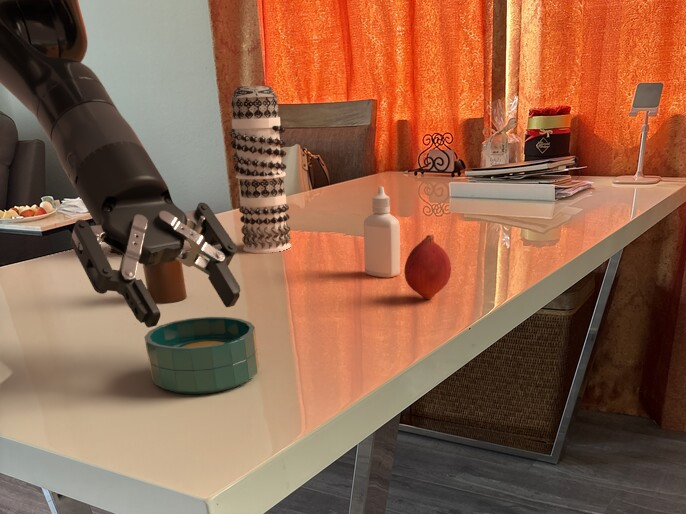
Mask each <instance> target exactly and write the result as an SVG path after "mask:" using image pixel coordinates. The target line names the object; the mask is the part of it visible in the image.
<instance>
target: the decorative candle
mask: <svg viewBox="0 0 686 514" xmlns="http://www.w3.org/2000/svg"><path fill="white" fill-rule="evenodd" d="M230 103H231V113H232V114H231V115H232V118H231V129H230V130H229V132H228V135H229V136H230V137H231V139H233V140H231V141H230V142H229V143H230V146H231V148H233V149H234V150H235V152H234V153H233V155H232V159H233V161H234V162H235V164H234V165H233V170H234V171H235V172H237V173H236V175H235V178H236V179H238V182H239V191H240V196H239V203H240V206H239V208H238V210H239V213H241V214H242V216H240V218H239V221H240V222H241V223H243V225H242V227H241V228H240V231H241V233H242V235H243V236H242V239H241V240H242V243H243V244H244V246H243V251H244V252H246V253H252V254H271V253H272V252H273V253H280V252H279V251H281V252H284V251H283V250H285V251H287V250H286V249H288V248H290V247H291V248H292V244H291V243H290V242H291V240H292V236H291V234H290V233H289V232H290V231H291V229H292V228H291V226H290V224H289V223H288V222H287V221H288V220H290V217H291V216H290V215H289V214H288V213H286V212H287V211H288V210H289V209H290V207H289V205H288V204H287V193H286V191H285V179H284V178H285V177H286V176H287V174H286V171H285V170H286V169H287V165H286V164H284V163H283V161H282V159H283V158H284V157H285V156H286V155H287V152H286V150H285V151H284V149H282V148H284V147H285V146H286V141H285V140H283V139H282V138H281V135H282V134H284V133H285V132H286V128H285V127H284V126H282V125H281V117H280V116H279V114H280V113H279V100H278V95H277V94H276V93H275V91H274V89H273V88H272V87H271V86H270V85H247V86H246V85H245V86H242V85H241V86H237V87H235V88H234V90H233V93H232V95H231V97H230ZM291 248H290V249H291ZM288 250H289V249H288Z"/></svg>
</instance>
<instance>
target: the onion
mask: <svg viewBox="0 0 686 514" xmlns="http://www.w3.org/2000/svg"><path fill="white" fill-rule="evenodd" d="M403 270H404V271H403V272H404V279H405V281H406V283H407V285H408V286H409V287H410V288H411V289H412V290H413V291H414V292H416V293H417V294H418V295H420V296H421V297H422V298H423V299H425V300H432V299H433V298H434V297H435V296H436V295H437V294H438V293H439V292H441V291H442V290H443V289H444V288H445V287H446V286H447V284H448V282H449V280H450V278H451V273H452V263H451V260H450V257H449V255H448V253H447V252H446V250H445V249H444V248H443V247H441V246H440V245H439V244H438V243H436V242H435V235H434V234H433V233H429V234H427V235H426V236H425V238H423V239H422V240H421V242H419V243H418V244H417V245H415V246H414V247H413V248H412V250H411V251H410V253H409V255H408V256H407V258H406V261H405V264H404V269H403Z"/></svg>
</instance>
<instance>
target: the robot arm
mask: <svg viewBox="0 0 686 514" xmlns="http://www.w3.org/2000/svg"><path fill="white" fill-rule="evenodd" d="M87 52H88V34H87V29H86V25H85V22H84V17H83V14H82V10H81V6H80V3H79V0H0V84H1V85H2V86H3V87H4V88H5V89H6V90H8V92H10V94H12V95H13V96H14V97H15V98H16V100H18V101H19V102H20V103H21V104H22V105H23V106H24V108H26V109H27V110H28V111H29V112H31V114H33V115H34V117H35V118H36V120H37V122H38V123H39V126H40V127H41V129H42V130H43V132H44V133H45V135H46V137H47V139H48V140H49V142H50V143H51V146H52V147H53V149H54V151H55V153H56V155H57V158H58V160H59V163H60V165H61V167H62V169H63V170H64V172H65V174H66V176H67V177H68V179H69V181H70V183H71V184H72V186H73V188H74V190H75V191H76V193H77V195H78V196H79V199H81V201H82V203H83V204H84V207H85V208H86V210H87V212H88V213H89V214H90V216H91V218H92V220H93V222H94V223H95V224H94V225H92V224H91V225H90V223H89V222H88V221H86V220H84V219H77V220H76V221H75V223H74V227H73V229H72V234H71V239H70V245H71V246H72V249H73V251H74V253H75V255H76V256H77V258H78V261H79V262H80V264H81V267H82V268H83V270H84V273H85V275H86V276H87V278H88V280H89V282H90V284H91V286H92V288H93V290H94V291H95V292H96V293H98V294H100V295H101V294H102V295H103V294H104V295H105V294H106V293H108V292H116V293H117V294H119V295H120V296H122V297H123V298H124V301H125V302H126V303H127V306H128V307H129V309H130V311H131V312H132V314H133V315H134V317H135V319H136V320H137V321H138V322H139V323H140V324H143V323H144V325H145V326H146V328H153V327H157V326H158V323H159V321H160V319H161V311H160V309H159V307H158V305H157V303H155V302H154V300H153V298H152V297H151V295H150V293H149V292H148V290H147V286H146V284H145V283H144V282H143V279H141V278H140V279H137V278H136V276H137V270H138V266H139V265H140V264H141V265H143V264H144V265H145V267H147V266H153V265H155V264H157V263H159V262H166V263H168V262H173V261H175V259H176V260H177V261H179V262H181V263H182V265H184V266H185V267H188V268H192V267H194V268H196V269H197V270H199V271H201V272H203V273H204V274H206V275H207V276H208V278H207V279H208V280H209V282H210V284H211V285H212V287H213V289H214V290H215V292H216V293H217V295H218V297H219V299H220V300H221V302H222V303H223V306H224V307H225V308H230V307H231V308H232V307H235V305H236V303H237V302H238V300H239V299H240V295H241V294H240V292H241V287H240V284H239V283H238V281H237V279H236V278H235V275H233V272H231V269H230V268H229V266H230V264H231V261H232V259H233V257H234V256H235V254H236V252H237V251H238V250H237V249H238V247H237V246H236V244H235V243H234V241H233V239H232V238H231V237H230V235H229V234H228V232H227V231H226V229H225V228H224V226H223V225H222V223H221V222H220V220H219V219H218V217H217V216H216V214H215V213H214V211H213V210H212V209H211V207H210V206H209V205H208V204H207V203H205V202H199V203H198V204H197V206H196V209H193V210H188V211H183V210H181V209H180V208H179V207H178V206H177V205H176V204H175V203H174V201H173V199H172V196H171V193H170V190H169V186H168V185H167V183H166V181H165V179H164V177H162V175H161V173H160V171H159V170H158V169H157V167H156V165H155V163H154V162H153V159H152V158H151V157H150V155H149V153H148V152H147V150H146V148H145V147H144V145H143V144H142V142H141V140H140V138H139V137H138V135H137V134H136V132H135V131H134V129H133V128H132V126H131V125H130V124H129V122H128V121H127V120H126V119H125V118H124V116H123V115H122V114H121V112H120V111H119V109H118V107H117V106H116V104H115V103H114V101H113V100H112V97H110V94H109V93H108V91H107V90H106V88H105V86H104V85H103V83H102V81H101V80H100V78H99V77H98V76H97V74H96V73H95V72H94V71H93V70H92V68H91V67H89V66H88V65H86V64H84V63H82V62H83V60H84V59H85V57H86V54H87ZM185 241H186V242H187V243H188V244H189V245H190V249H189V250H185V249H184V246H185ZM102 243H104V244H106V245H108V246H109V247H110V248H111V247H112V248H114V249H116V250H117V251H119V252H120V253H122V254H123V255H122V254H121V255H122V256H121V260H120V264H119V268H118V270H117V269H113V268H112V265H111V264H110V262H109V260H108V258H107V256H106V254H105V252H104V250H103V248H102Z"/></svg>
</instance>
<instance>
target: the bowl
mask: <svg viewBox="0 0 686 514" xmlns="http://www.w3.org/2000/svg"><path fill="white" fill-rule="evenodd" d="M205 341H219V342H225V343H220V344H215V345H210V346H199V347H182V346H185V345H188V344H192V343H197V342H205ZM144 342H145V343H144V344H145V348H146V353H147V354H146V355H147V358H148V364H149V371H150V376H151V379H152V382H153V384H154V385H156V386H158V387H160V388H162V389H165V390H167V391H170V392H172V393H178V394H185V395H203V394H204V395H205V394H213V393H219V392H223V391H227V390H231V389H234V388H237V387H239V386H241V385H244V384H245V383H247V382H248V381H249V380H251V379H252V378H253V377H255V376H256V375H257V374H258V373H259V369H260V361H259V352H258V342H257V333H256V327H255V326H254V324H253V323H251V321H248V320H245V319H242V318H237V317H228V316H204V317H203V316H202V317H191V318H185V319H180V320H175V321H171V322H168V323H164V324H161V325H157V326H155V327H154V328H153V329H150V330H149V331H148V332H147V333H146V334H145V335H144Z"/></svg>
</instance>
